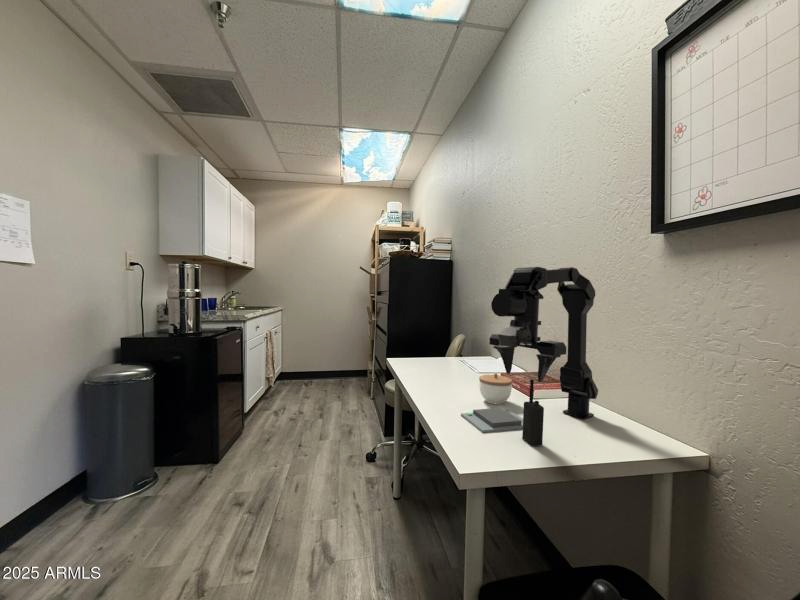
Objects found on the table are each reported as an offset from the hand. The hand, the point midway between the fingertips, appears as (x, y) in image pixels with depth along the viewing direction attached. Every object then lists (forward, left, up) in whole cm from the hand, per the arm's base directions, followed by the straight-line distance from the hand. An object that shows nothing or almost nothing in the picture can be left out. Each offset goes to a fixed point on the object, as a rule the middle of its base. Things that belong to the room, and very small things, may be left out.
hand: (523, 377), depth 83 cm
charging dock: (-1, -9, -15) cm, 17 cm away
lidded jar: (-15, -21, -15) cm, 30 cm away
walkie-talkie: (+2, +4, -15) cm, 16 cm away
